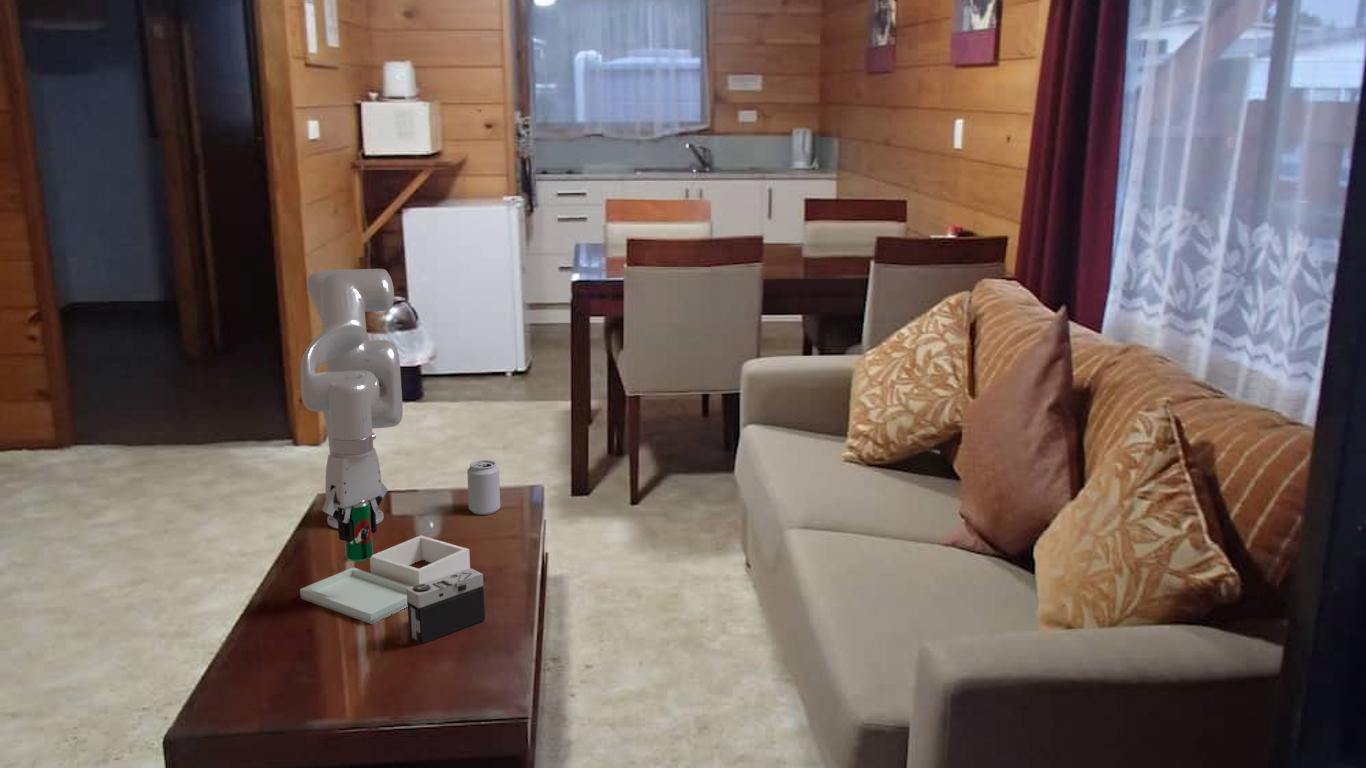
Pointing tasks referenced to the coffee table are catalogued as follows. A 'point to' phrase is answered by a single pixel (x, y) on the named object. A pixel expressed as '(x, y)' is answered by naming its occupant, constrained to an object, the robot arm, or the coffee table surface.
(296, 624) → the coffee table surface
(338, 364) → the robot arm
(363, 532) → the soda can
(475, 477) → the can
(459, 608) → the camera
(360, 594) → the tray
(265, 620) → the coffee table surface
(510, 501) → the coffee table surface
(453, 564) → the holder
